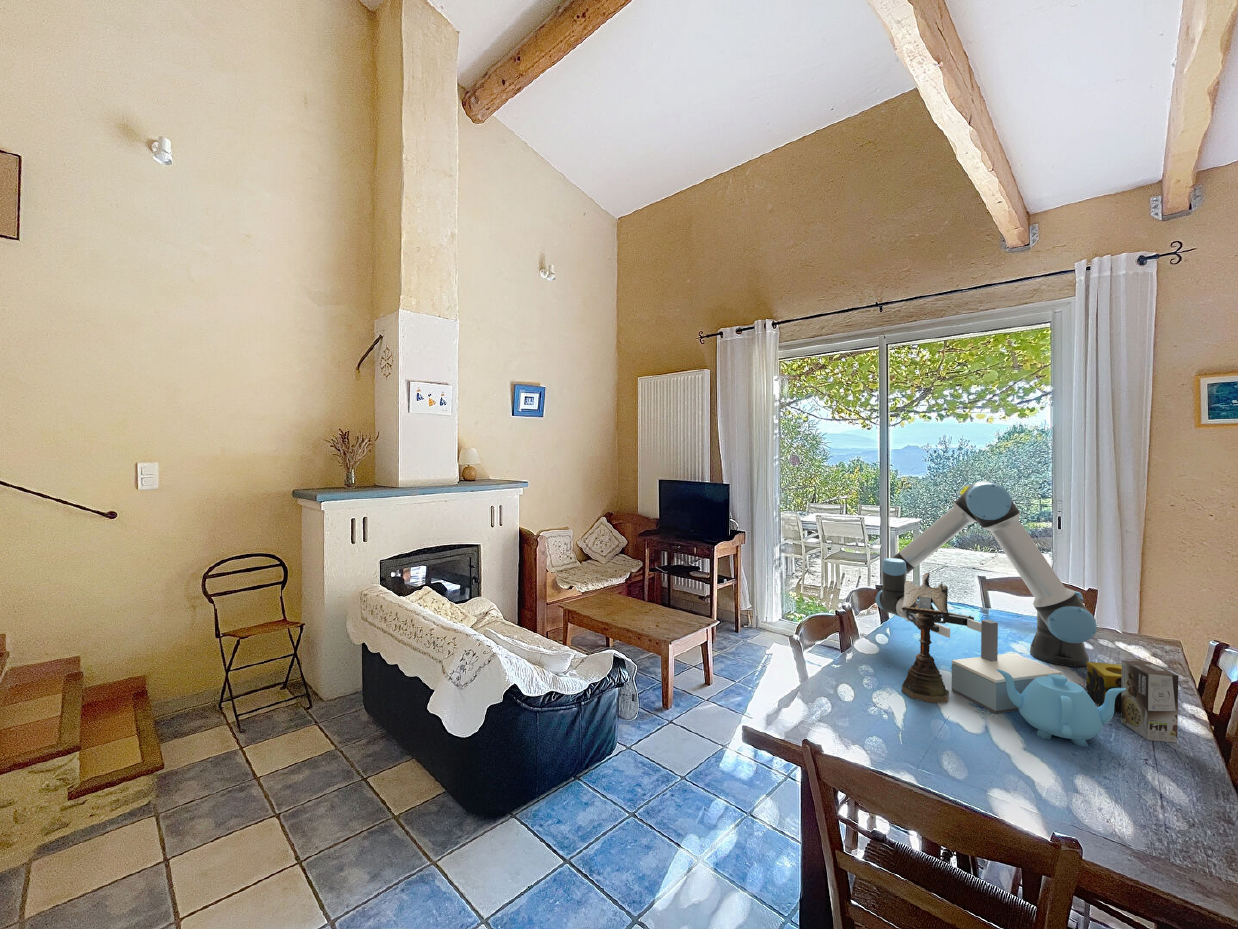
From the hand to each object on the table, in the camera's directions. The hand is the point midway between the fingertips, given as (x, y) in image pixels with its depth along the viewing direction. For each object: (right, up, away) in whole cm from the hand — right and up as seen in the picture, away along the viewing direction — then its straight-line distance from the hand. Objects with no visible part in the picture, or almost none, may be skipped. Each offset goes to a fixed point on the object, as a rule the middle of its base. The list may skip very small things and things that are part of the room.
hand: (968, 631), depth 160 cm
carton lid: (+3, -7, -11) cm, 13 cm away
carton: (+3, -15, -11) cm, 19 cm away
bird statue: (-18, -15, -11) cm, 26 cm away
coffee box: (+25, -16, -30) cm, 42 cm away
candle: (+30, -15, -16) cm, 37 cm away
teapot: (+2, -16, -29) cm, 33 cm away
